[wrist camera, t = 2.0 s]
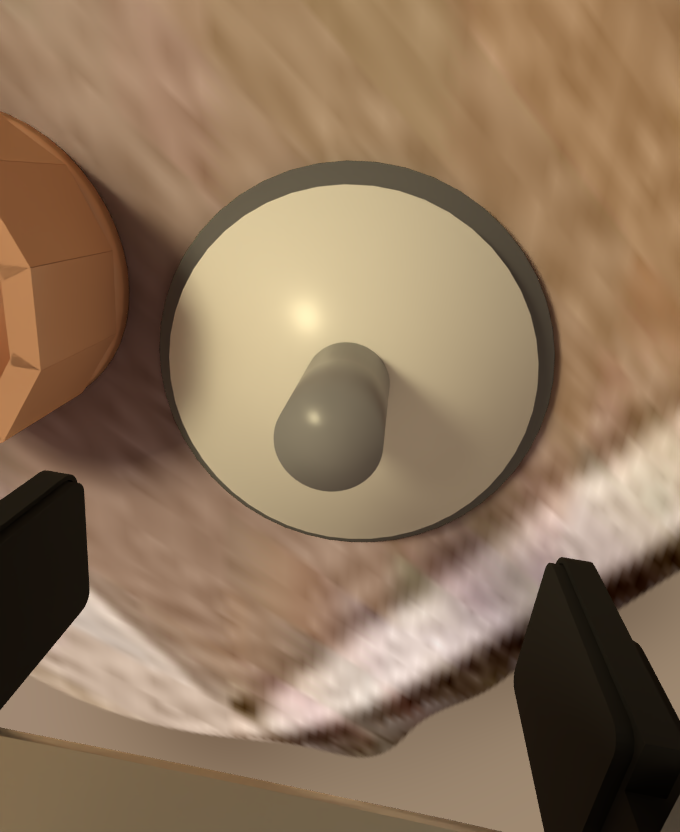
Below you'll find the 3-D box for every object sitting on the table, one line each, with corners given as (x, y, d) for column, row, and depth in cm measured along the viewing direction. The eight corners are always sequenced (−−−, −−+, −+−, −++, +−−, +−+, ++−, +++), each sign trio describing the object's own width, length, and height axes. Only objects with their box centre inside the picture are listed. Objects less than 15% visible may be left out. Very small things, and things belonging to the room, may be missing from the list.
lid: (177, 161, 18) (81, 150, 13) (579, 211, 17) (652, 221, 12) (177, 500, 23) (108, 592, 18) (489, 551, 23) (513, 663, 17)
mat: (161, 136, 18) (156, 135, 18) (604, 189, 18) (608, 189, 17) (165, 506, 24) (161, 511, 24) (501, 562, 23) (502, 568, 23)
